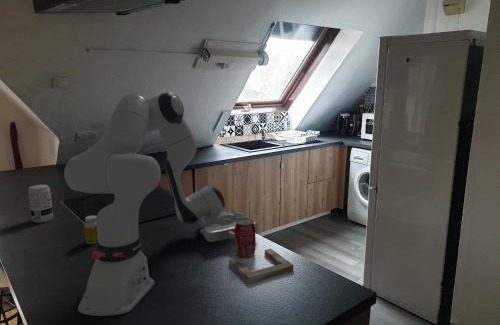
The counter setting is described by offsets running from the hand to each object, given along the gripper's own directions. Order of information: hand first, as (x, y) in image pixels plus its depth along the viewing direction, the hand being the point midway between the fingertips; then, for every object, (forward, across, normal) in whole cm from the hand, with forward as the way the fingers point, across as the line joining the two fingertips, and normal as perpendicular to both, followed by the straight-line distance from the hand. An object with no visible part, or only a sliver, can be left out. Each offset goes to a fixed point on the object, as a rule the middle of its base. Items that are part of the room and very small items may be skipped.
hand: (240, 237), depth 130 cm
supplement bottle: (-34, -44, +5) cm, 56 cm away
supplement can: (-69, -61, +5) cm, 92 cm away
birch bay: (+14, 0, +5) cm, 15 cm away
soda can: (+3, 0, +5) cm, 6 cm away
